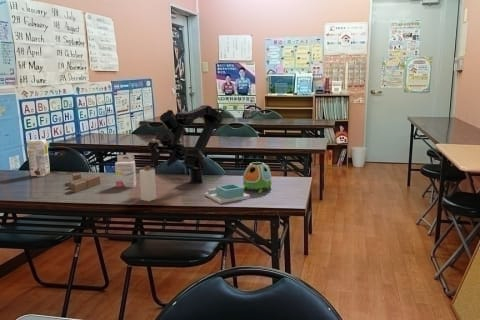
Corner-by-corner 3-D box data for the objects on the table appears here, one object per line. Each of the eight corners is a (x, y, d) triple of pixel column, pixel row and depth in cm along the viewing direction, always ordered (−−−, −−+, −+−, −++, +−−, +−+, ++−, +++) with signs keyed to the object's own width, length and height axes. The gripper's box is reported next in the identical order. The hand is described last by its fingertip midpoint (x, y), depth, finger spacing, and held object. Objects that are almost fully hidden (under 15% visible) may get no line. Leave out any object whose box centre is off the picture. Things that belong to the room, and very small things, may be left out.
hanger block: (148, 197, 185) (146, 164, 183) (156, 198, 183) (154, 165, 181) (141, 199, 182) (139, 166, 179) (149, 201, 180) (147, 167, 177)
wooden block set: (101, 173, 210) (74, 182, 193) (102, 184, 211) (75, 194, 194) (73, 170, 216) (45, 179, 199) (74, 182, 217) (46, 191, 201)
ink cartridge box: (115, 187, 202) (113, 156, 199) (118, 185, 207) (116, 154, 204) (134, 187, 202) (132, 156, 200) (136, 184, 207) (134, 154, 204)
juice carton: (45, 176, 228) (41, 140, 224) (29, 177, 228) (25, 141, 224) (51, 173, 235) (48, 138, 231) (36, 173, 235) (32, 139, 232)
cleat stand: (205, 195, 187) (204, 184, 186) (233, 190, 193) (233, 180, 193) (220, 203, 175) (219, 191, 174) (250, 197, 182) (249, 187, 181)
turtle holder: (280, 185, 202) (280, 160, 199) (262, 194, 186) (262, 167, 184) (256, 182, 208) (256, 158, 205) (237, 191, 192) (237, 165, 190)
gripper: (148, 123, 192) (132, 152, 185) (182, 125, 183) (167, 155, 176) (161, 139, 201) (146, 166, 193) (194, 141, 191) (179, 170, 184)
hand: (159, 164), depth 186 cm, fingers open, 9 cm apart
